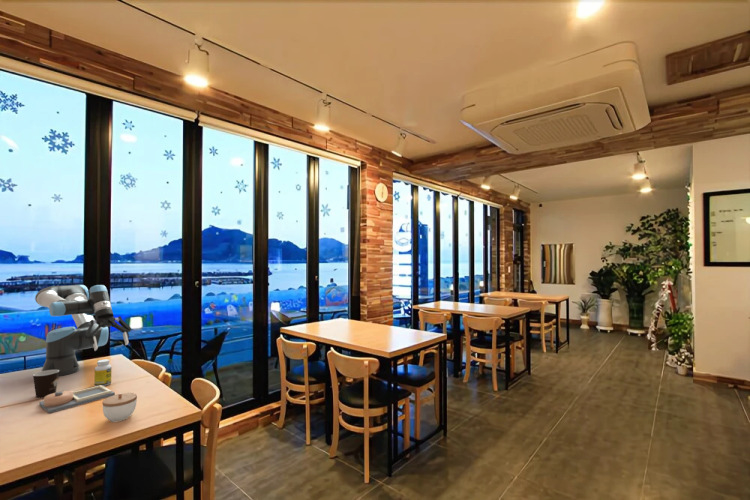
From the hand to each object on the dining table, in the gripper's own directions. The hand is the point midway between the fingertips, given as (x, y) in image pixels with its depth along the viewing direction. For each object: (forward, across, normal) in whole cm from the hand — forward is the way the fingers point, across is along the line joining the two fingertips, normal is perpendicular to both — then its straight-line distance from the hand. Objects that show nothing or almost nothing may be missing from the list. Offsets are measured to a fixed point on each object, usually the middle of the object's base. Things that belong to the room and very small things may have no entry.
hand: (112, 346), depth 182 cm
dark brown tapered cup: (+16, -25, +5) cm, 30 cm away
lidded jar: (+47, -17, -39) cm, 64 cm away
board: (+26, -20, -10) cm, 35 cm away
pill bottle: (+19, -7, 0) cm, 20 cm away
